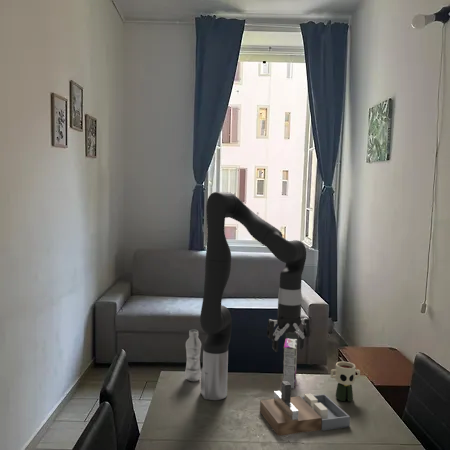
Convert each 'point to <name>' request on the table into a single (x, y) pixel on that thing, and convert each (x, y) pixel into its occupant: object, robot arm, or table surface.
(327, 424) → the box
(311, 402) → the cream tile
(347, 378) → the character mug
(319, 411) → the cream tile
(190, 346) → the plastic bottle
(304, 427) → the walnut plate
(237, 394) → the table surface
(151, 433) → the table surface
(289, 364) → the candy bar box
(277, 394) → the bar
